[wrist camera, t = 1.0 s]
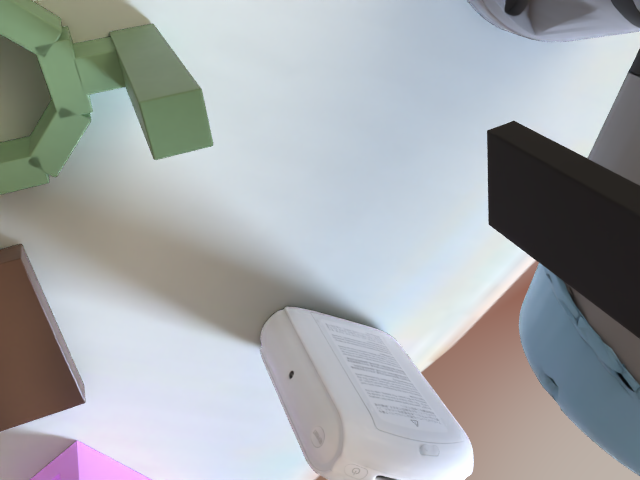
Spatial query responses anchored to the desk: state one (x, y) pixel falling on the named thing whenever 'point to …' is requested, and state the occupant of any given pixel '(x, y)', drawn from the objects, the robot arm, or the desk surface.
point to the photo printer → (360, 401)
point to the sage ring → (93, 77)
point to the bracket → (86, 466)
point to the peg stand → (31, 348)
